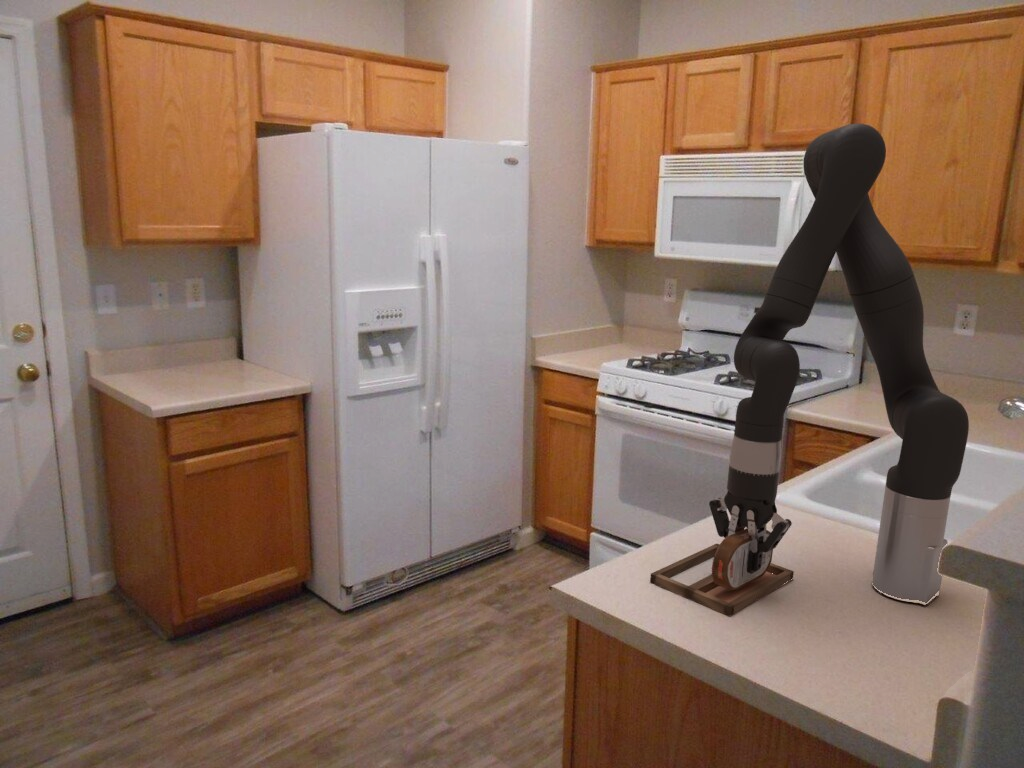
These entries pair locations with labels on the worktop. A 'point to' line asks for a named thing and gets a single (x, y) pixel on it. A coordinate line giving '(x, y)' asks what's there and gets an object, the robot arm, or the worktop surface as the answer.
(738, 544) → the tin
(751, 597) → the rack
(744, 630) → the worktop surface
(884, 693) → the worktop surface
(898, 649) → the worktop surface
